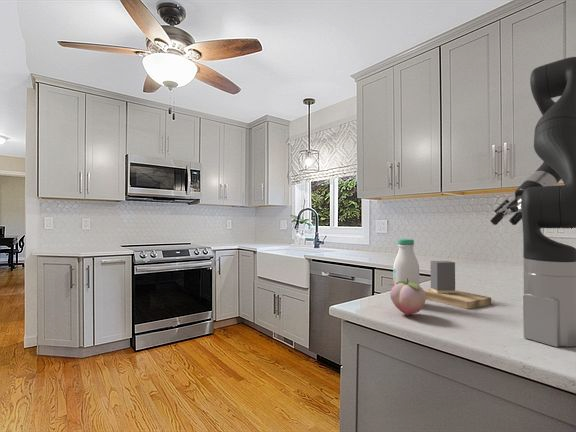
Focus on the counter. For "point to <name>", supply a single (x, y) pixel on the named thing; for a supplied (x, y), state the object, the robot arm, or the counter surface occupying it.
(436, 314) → the counter surface
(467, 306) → the oak board
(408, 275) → the milk bottle
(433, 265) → the block
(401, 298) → the decorative fruit
